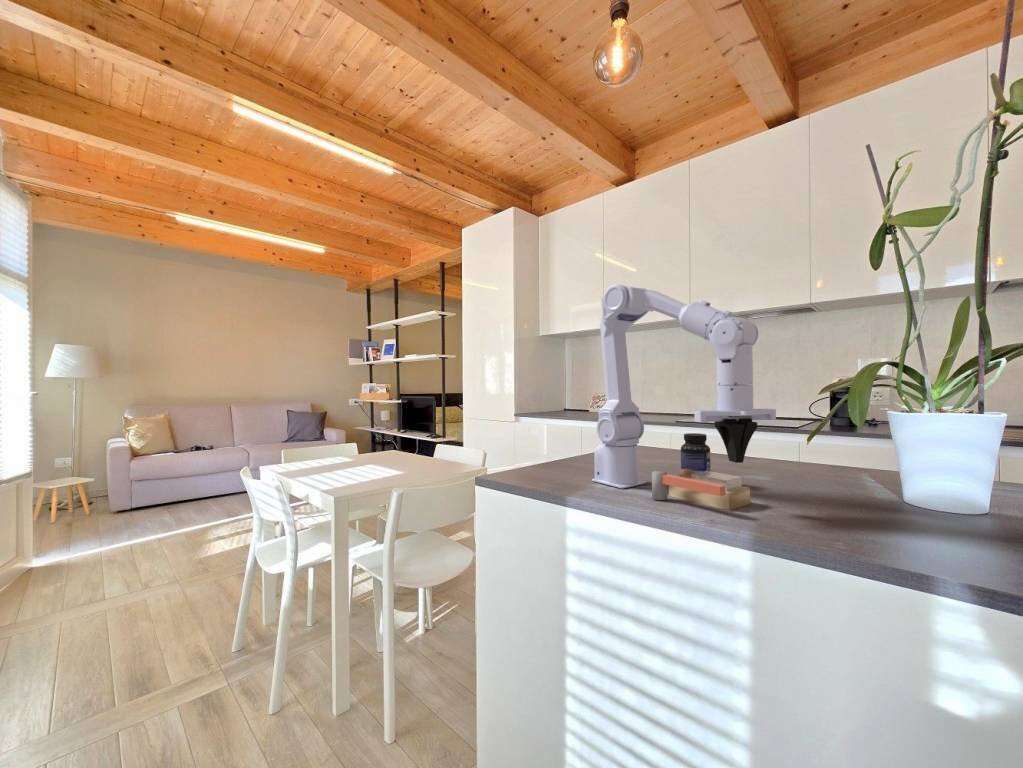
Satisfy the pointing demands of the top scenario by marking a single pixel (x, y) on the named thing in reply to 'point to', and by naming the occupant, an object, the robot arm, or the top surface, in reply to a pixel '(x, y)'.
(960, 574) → the top surface
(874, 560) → the top surface
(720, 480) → the grey slanted block
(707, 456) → the pill bottle
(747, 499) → the body
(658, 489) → the hammer
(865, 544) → the top surface
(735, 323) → the robot arm
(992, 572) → the top surface
